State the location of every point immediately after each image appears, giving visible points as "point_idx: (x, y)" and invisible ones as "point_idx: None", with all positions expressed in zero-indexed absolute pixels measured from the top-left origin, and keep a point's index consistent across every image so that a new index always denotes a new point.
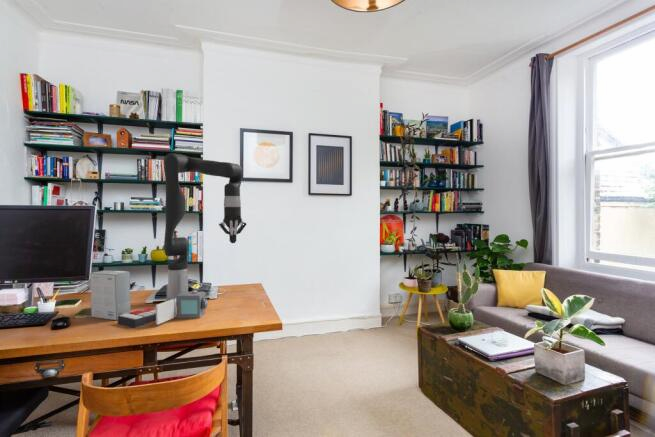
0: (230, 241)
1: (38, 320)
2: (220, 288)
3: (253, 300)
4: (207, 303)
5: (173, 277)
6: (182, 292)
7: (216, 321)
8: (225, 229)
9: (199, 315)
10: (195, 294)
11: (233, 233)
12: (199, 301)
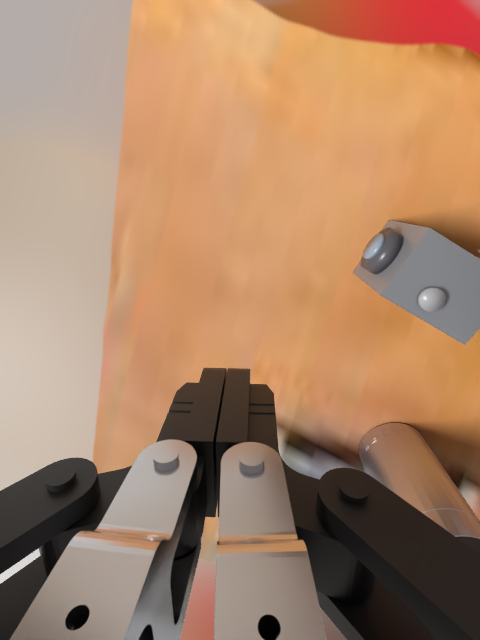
0: (269, 394)
1: None
2: (218, 533)
3: (147, 335)
4: (363, 255)
5: (469, 511)
6: (471, 333)
7: (349, 141)
8: (465, 589)
9: (394, 221)
10: (437, 262)
11: (199, 502)
12: (417, 225)
